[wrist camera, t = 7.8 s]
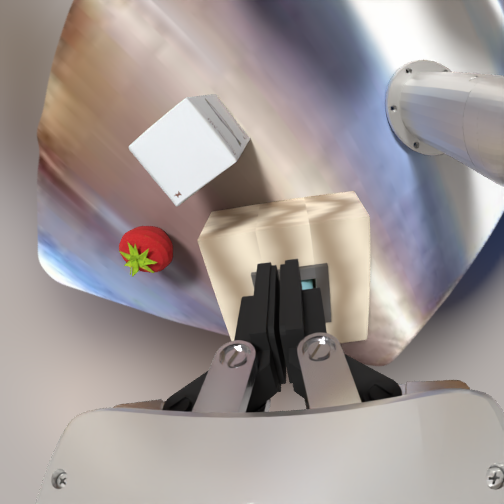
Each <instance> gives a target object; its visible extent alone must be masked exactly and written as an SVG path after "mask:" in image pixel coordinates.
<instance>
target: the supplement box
mask: <svg viewBox="0 0 504 504" xmlns="http://www.w3.org/2000/svg"><path fill="white" fill-rule="evenodd" d="M249 140H250V137H249V136H248V135H247V134H246V133H245V131H244V130H243V129H242V128H241V126H240V125H239V124H238V123H237V121H236V120H235V119H234V118H233V116H232V115H231V114H230V112H229V111H228V110H227V108H226V107H225V106H224V104H223V103H222V102H221V100H220V99H219V98H218V96H217V95H216V94H211V95H203V96H195V97H187V98H185V99H184V100H182V101H181V102H180V103H179V104H177V105H176V106H175V107H174V108H172V109H171V110H170V111H169V112H168V113H166V114H165V115H164V116H163V117H162V118H160V119H159V120H158V121H157V122H156V123H154V124H153V125H152V126H151V127H150V128H149V129H147V130H146V131H145V132H144V133H143V134H142V135H141V136H140V137H138V138H137V139H136V140H135V141H134V142H133V143H132V144H131V145H130V146H129V149H130V151H131V152H132V153H133V154H134V156H135V157H136V158H137V159H138V160H139V162H140V163H141V164H142V165H143V167H144V168H145V169H146V170H147V171H148V173H149V174H150V175H151V176H152V178H153V179H154V180H155V181H156V182H157V184H158V185H159V186H160V187H161V188H162V190H163V191H164V192H165V193H166V194H167V196H168V197H169V198H170V199H171V200H172V202H173V203H174V204H175V205H176V206H179V205H180V204H181V203H183V202H184V201H185V200H187V199H188V198H189V197H190V196H192V195H193V194H194V193H196V192H197V191H198V190H200V189H201V188H202V187H203V186H205V185H206V184H207V183H209V182H210V181H211V180H213V179H214V178H215V177H217V176H218V175H219V174H221V173H222V172H223V171H225V170H226V169H227V168H229V167H230V166H232V165H233V164H234V163H236V162H237V160H238V159H239V157H240V155H241V154H242V152H243V150H244V149H245V147H246V145H247V144H248V142H249Z"/></svg>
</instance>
